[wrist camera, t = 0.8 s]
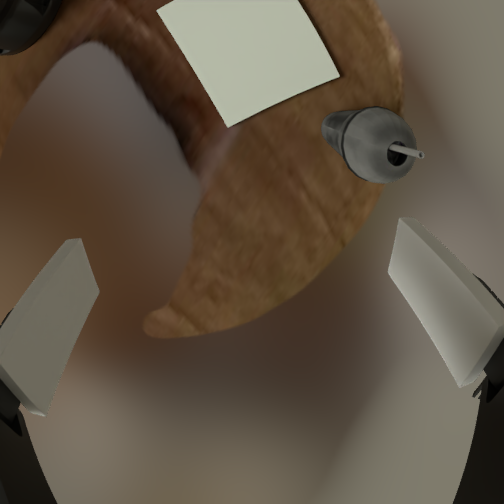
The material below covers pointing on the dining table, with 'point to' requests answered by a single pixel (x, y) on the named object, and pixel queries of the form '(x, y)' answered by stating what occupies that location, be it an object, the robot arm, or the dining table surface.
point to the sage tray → (249, 51)
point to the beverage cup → (372, 143)
